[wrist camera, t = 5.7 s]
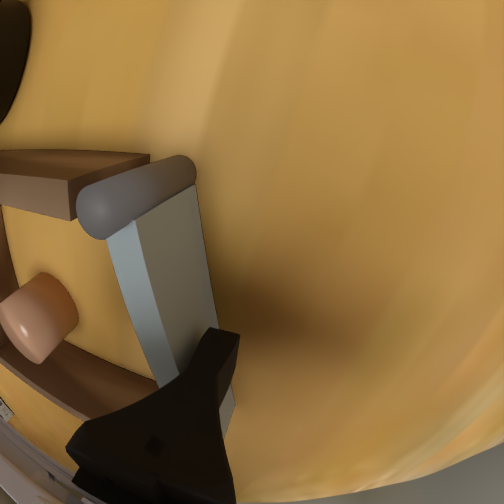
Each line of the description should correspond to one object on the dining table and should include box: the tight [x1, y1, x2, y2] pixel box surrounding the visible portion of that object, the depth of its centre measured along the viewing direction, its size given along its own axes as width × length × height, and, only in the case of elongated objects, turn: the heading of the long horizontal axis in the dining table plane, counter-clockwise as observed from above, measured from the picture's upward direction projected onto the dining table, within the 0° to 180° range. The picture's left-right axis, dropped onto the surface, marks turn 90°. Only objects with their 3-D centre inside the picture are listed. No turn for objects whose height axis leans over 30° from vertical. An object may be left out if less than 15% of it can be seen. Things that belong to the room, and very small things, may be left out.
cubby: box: [0, 149, 159, 422], centre depth 13 cm, size 15×14×5 cm
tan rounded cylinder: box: [0, 273, 79, 364], centre depth 14 cm, size 4×4×4 cm
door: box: [76, 155, 235, 440], centre depth 11 cm, size 14×1×5 cm, turn 5°
